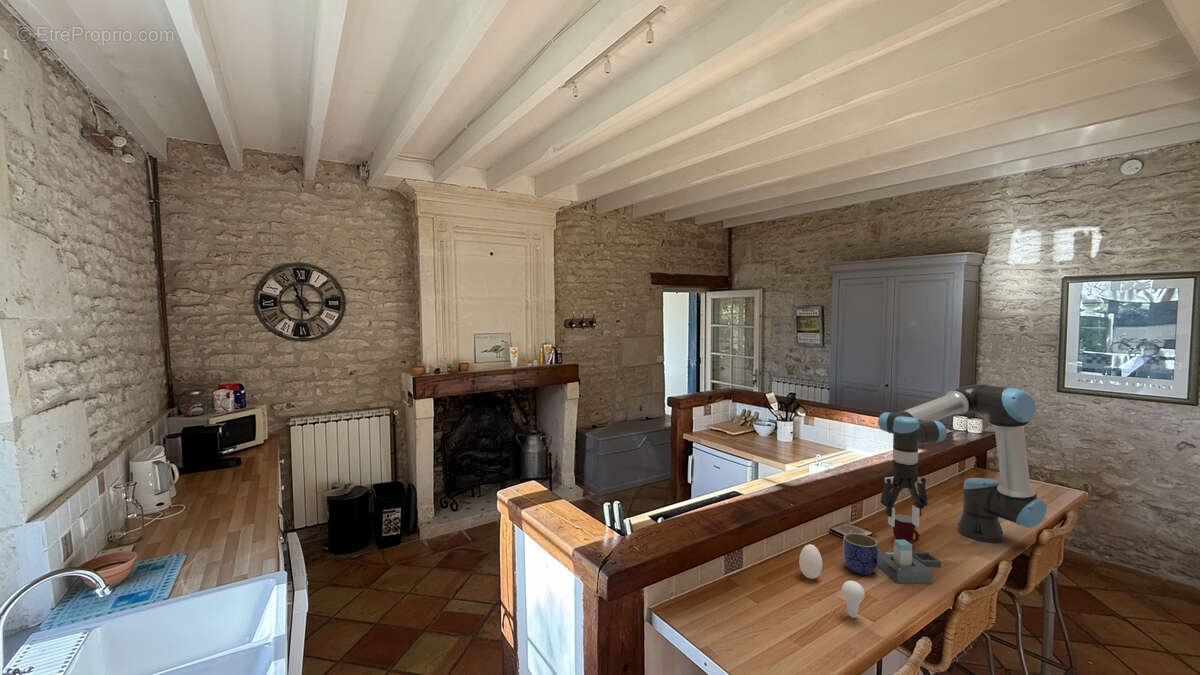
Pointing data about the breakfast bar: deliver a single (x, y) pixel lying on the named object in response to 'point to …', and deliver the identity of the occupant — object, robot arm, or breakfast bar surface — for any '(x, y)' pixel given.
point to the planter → (860, 553)
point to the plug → (902, 553)
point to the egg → (810, 561)
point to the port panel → (904, 570)
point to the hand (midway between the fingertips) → (903, 524)
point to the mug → (904, 528)
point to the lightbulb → (853, 596)
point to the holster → (931, 560)
